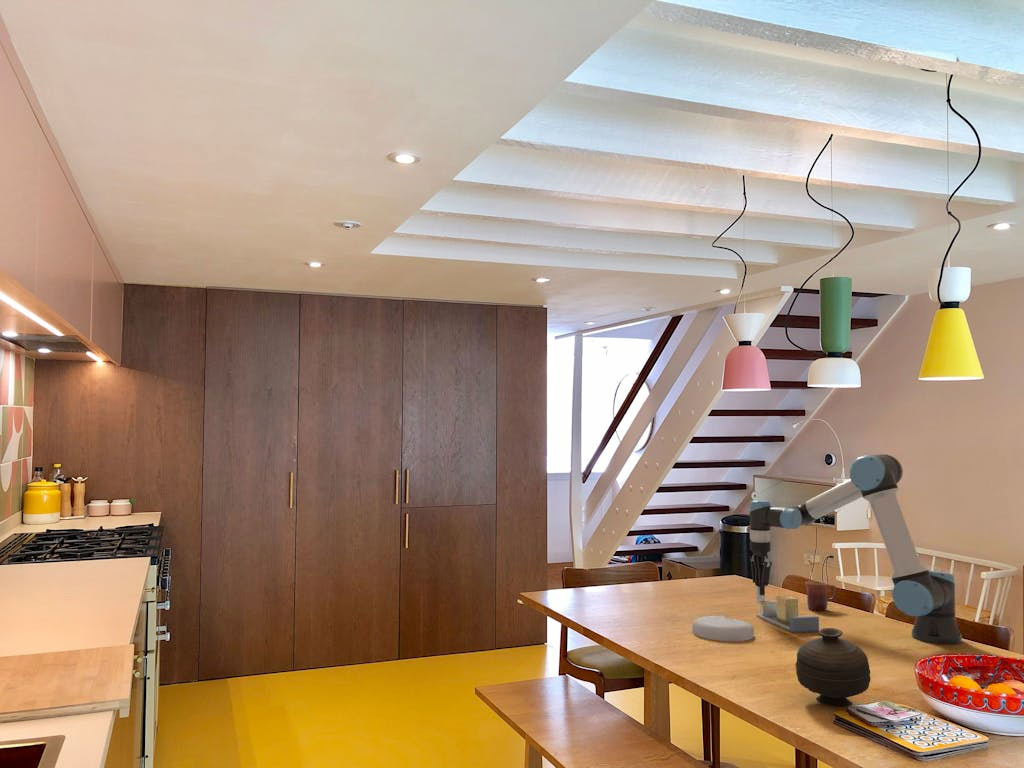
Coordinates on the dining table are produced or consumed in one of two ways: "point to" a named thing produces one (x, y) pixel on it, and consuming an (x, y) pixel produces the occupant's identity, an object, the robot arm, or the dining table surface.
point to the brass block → (786, 609)
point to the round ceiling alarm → (722, 629)
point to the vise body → (796, 623)
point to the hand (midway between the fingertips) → (760, 603)
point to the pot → (833, 668)
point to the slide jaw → (768, 608)
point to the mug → (818, 595)
